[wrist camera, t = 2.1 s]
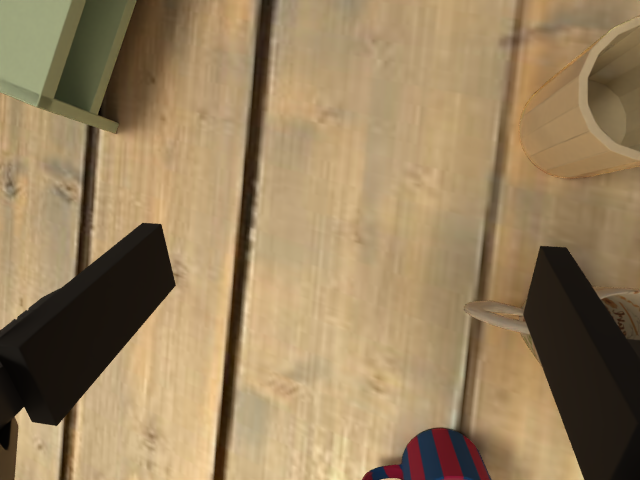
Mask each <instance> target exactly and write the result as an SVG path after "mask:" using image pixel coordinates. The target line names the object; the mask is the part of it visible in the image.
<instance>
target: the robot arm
mask: <svg viewBox="0 0 640 480" xmlns="http://www.w3.org/2000/svg"><path fill="white" fill-rule="evenodd" d="M175 286H176V285H175V280H174V276H173V272H172V268H171V263H170V259H169V255H168V251H167V246H166V242H165V238H164V234H163V229H162V225H161V224H152V223H142V224H141V225H139V226H138V227H137V228H136V229H134V230H133V231H132V232H131V233H129V234H128V235H127V236H126V237H124V238H123V239H122V240H121V241H119V242H118V243H117V244H116V245H114V246H113V247H112V248H111V249H109V250H108V251H107V252H106V253H104V254H103V255H102V256H101V257H100V258H98V259H97V260H96V261H95V262H93V263H92V264H91V265H90V266H88V267H87V268H86V269H85V270H83V271H82V272H81V273H80V274H78V275H77V276H76V277H75V278H73V279H72V280H71V281H70V282H68V283H67V284H66V285H65V286H63V287H62V288H60V289H58V290H56V291H54V292H52V293H50V294H48V295H46V296H44V297H42V298H41V299H40V300H38V301H37V302H36V303H35V304H33V305H32V306H31V307H30V308H29V310H28V311H27V310H26V311H24V312H23V313H22V314H21V315H19V316H18V317H17V320H16V319H14V320H13V321H12V322H10V323H9V324H8V325H7V326H5V327H4V328H3V329H2V330H0V480H14V478H15V465H16V451H17V438H18V424H17V421H16V419H15V415H16V414H17V413H18V412H19V411H20V410H21V409H22V408H23V407H25V409H26V411H27V413H28V415H29V417H30V419H31V421H32V422H36V423H42V424H48V425H55V426H57V425H58V424H59V423H60V422H61V420H62V419H63V418H64V417H65V416H66V415H67V413H68V412H69V411H70V410H71V409H72V407H73V406H74V405H75V404H76V403H77V402H78V400H79V399H80V398H81V397H82V396H83V394H84V393H85V392H86V391H87V390H88V389H89V387H90V386H91V385H92V384H93V383H94V381H95V380H96V379H97V378H98V377H99V376H100V374H101V373H102V372H103V371H104V370H105V368H106V367H107V366H108V365H109V364H110V363H111V361H112V360H113V359H114V358H115V357H116V355H117V354H118V353H119V352H120V351H121V349H122V348H123V347H124V346H125V345H126V344H127V342H128V341H129V340H130V339H131V338H132V336H133V335H134V334H135V333H136V332H137V331H138V329H139V328H140V327H141V326H142V325H143V323H144V322H145V321H146V320H147V319H148V318H149V316H150V315H151V314H152V313H153V312H154V310H155V309H156V308H157V307H158V306H159V305H160V303H161V302H162V301H163V300H164V299H165V297H166V296H167V295H168V294H169V293H170V292H171V290H172V289H173V288H174V287H175ZM523 316H524V319H525V322H526V324H527V327H528V330H529V332H530V335H531V338H532V340H533V343H534V346H535V348H536V351H537V354H538V357H539V359H540V362H541V365H542V367H543V370H544V373H545V375H546V378H547V381H548V383H549V386H550V389H551V391H552V394H553V397H554V399H555V402H556V405H557V407H558V410H559V413H560V416H561V418H562V421H563V424H564V426H565V429H566V432H567V434H568V437H569V440H570V442H571V445H572V448H573V450H574V453H575V456H576V458H577V461H578V464H579V467H580V469H581V472H582V475H583V477H584V480H640V340H634V339H626V337H625V336H624V334H623V332H622V331H621V329H620V328H619V326H618V325H617V323H616V322H615V320H614V319H613V317H612V316H611V314H610V313H609V311H608V310H607V308H606V307H605V305H604V304H603V302H602V301H601V299H600V298H599V296H598V295H597V293H596V292H595V290H594V289H593V287H592V286H591V284H590V283H589V281H588V279H587V278H586V276H585V275H584V273H583V272H582V270H581V269H580V267H579V266H578V264H577V263H576V261H575V260H574V258H573V257H572V255H571V254H570V252H569V251H568V249H567V248H566V247H549V246H540V249H539V253H538V257H537V261H536V265H535V269H534V273H533V277H532V281H531V285H530V289H529V293H528V297H527V301H526V305H525V309H524V313H523Z"/></svg>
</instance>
